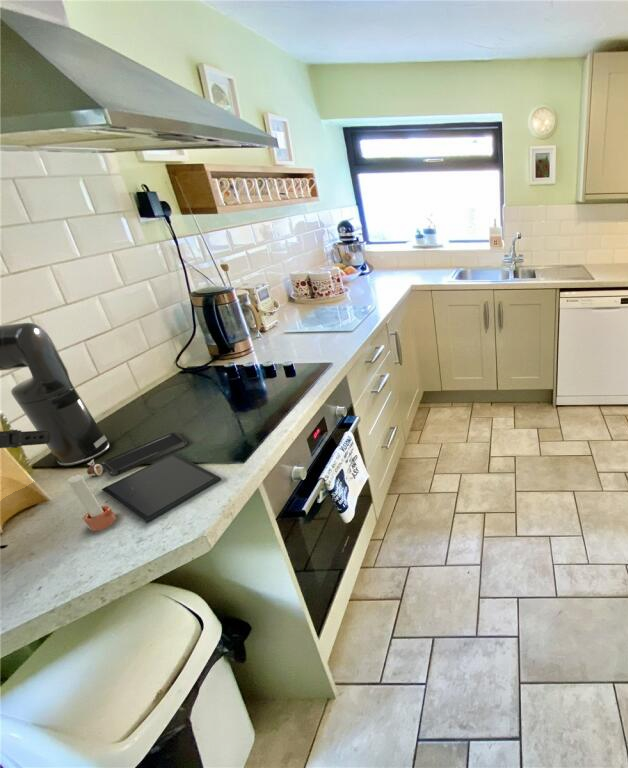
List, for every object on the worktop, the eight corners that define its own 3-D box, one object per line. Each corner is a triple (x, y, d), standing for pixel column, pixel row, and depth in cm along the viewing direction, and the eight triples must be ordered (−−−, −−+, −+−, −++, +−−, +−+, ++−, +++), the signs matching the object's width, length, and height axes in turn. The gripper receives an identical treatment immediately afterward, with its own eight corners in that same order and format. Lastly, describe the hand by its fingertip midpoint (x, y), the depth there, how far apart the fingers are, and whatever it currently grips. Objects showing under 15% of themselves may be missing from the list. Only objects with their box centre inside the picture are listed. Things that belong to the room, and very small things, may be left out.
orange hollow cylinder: (87, 527, 80) (79, 516, 79) (111, 514, 83) (104, 503, 81) (95, 535, 78) (87, 523, 77) (120, 521, 81) (112, 509, 80)
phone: (100, 462, 97) (174, 431, 107) (102, 466, 97) (176, 434, 108) (110, 474, 93) (187, 440, 103) (113, 478, 93) (188, 444, 104)
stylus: (94, 524, 80) (65, 479, 74) (106, 518, 81) (78, 473, 75) (99, 528, 79) (70, 483, 73) (111, 522, 81) (83, 477, 74)
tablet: (103, 492, 89) (100, 488, 89) (175, 456, 100) (174, 452, 99) (147, 524, 80) (144, 520, 79) (222, 480, 91) (220, 477, 90)
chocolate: (96, 471, 96) (87, 457, 94) (107, 470, 96) (98, 456, 94) (87, 480, 93) (78, 466, 91) (99, 478, 94) (89, 464, 92)
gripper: (-106, 416, 52) (60, 412, 68) (-172, 425, 56) (1, 420, 71) (-106, 476, 52) (61, 458, 68) (-173, 482, 55) (2, 464, 71)
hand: (30, 438), depth 70 cm, fingers open, 8 cm apart
